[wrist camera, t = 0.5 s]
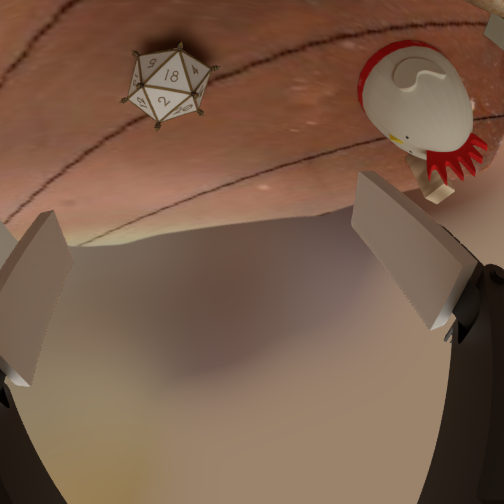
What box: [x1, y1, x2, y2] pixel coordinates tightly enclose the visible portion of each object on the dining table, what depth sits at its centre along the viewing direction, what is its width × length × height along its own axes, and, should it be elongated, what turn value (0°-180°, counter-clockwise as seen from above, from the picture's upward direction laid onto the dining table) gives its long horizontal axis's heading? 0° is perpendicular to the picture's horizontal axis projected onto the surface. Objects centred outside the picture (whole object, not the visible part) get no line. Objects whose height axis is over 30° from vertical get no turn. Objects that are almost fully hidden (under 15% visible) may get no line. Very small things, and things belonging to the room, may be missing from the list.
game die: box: [119, 41, 220, 132], centre depth 23 cm, size 9×8×10 cm
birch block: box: [406, 154, 455, 204], centre depth 38 cm, size 4×4×8 cm
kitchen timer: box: [357, 40, 487, 186], centre depth 24 cm, size 14×14×15 cm
